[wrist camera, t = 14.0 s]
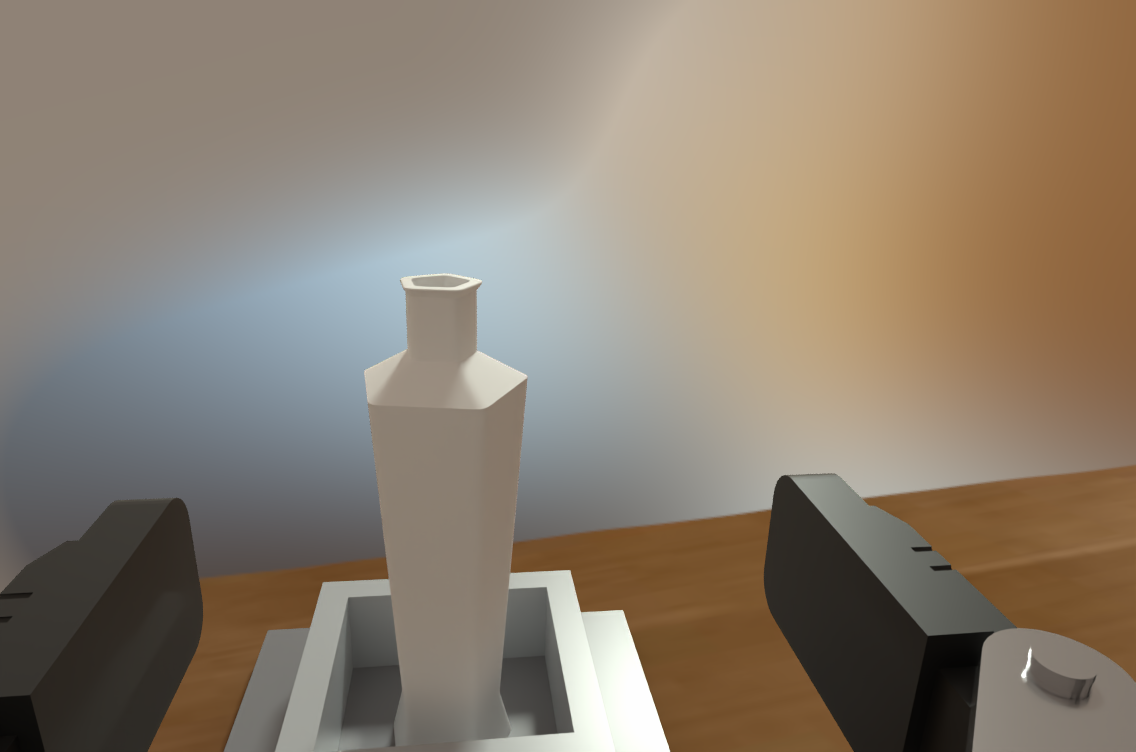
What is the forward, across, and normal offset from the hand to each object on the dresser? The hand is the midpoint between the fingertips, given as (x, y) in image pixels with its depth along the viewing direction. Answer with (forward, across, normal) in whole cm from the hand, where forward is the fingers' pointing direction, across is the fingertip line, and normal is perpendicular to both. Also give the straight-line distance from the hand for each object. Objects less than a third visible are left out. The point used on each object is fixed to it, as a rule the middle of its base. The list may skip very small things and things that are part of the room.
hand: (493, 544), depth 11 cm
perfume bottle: (+11, +1, +14) cm, 18 cm away
